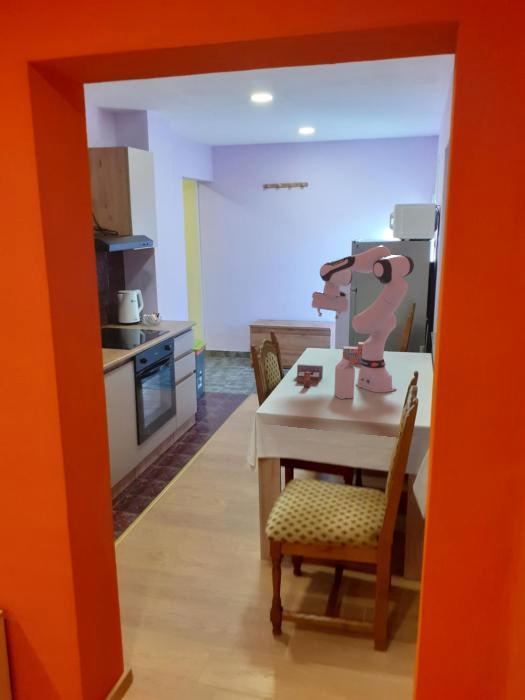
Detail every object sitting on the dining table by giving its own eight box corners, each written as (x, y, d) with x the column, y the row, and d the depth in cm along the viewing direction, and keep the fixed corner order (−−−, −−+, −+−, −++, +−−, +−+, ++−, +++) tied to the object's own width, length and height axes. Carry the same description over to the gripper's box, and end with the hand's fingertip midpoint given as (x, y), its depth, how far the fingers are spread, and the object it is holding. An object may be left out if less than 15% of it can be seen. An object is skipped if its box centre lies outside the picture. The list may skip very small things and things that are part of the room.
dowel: (311, 387, 299) (311, 372, 297) (305, 388, 298) (305, 373, 296) (308, 386, 302) (308, 371, 300) (302, 386, 301) (303, 371, 299)
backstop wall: (297, 376, 321) (297, 364, 319) (322, 377, 319) (322, 365, 317) (297, 377, 319) (297, 365, 317) (322, 378, 317) (322, 366, 315)
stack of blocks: (343, 363, 352) (343, 343, 350) (342, 360, 358) (343, 341, 356) (378, 364, 351) (379, 344, 348) (377, 361, 357) (378, 342, 354)
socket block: (299, 378, 318) (299, 370, 317) (319, 379, 316) (319, 371, 315) (297, 383, 307) (297, 375, 306) (318, 384, 306) (318, 376, 305)
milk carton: (346, 394, 288) (348, 357, 284) (353, 398, 282) (355, 360, 278) (334, 395, 286) (335, 358, 282) (341, 399, 279) (342, 361, 275)
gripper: (313, 289, 316) (310, 313, 313) (350, 294, 317) (347, 318, 315) (311, 292, 322) (309, 316, 320) (347, 298, 323) (344, 321, 321)
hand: (328, 317), depth 317 cm, fingers open, 8 cm apart
